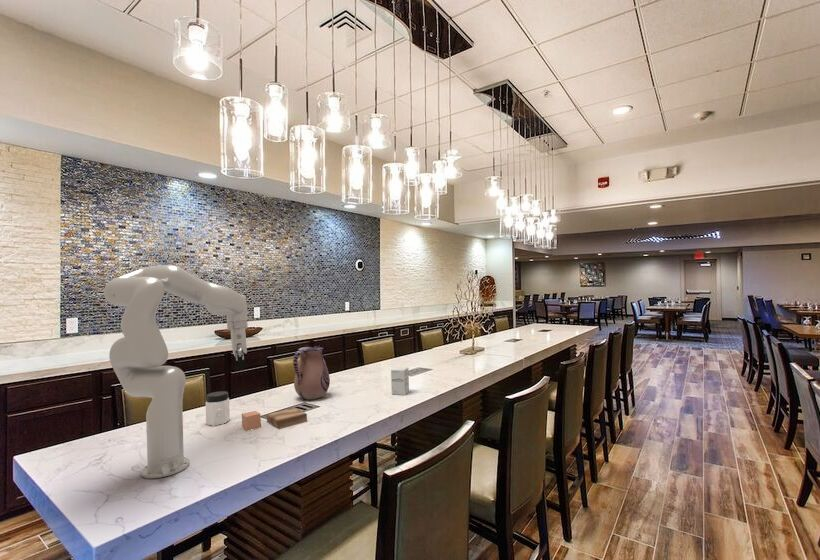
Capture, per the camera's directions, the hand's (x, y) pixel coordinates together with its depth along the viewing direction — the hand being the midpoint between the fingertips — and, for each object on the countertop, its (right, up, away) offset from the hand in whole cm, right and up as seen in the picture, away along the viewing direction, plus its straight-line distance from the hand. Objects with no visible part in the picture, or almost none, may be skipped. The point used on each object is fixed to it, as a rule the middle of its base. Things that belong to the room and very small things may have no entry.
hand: (239, 367), depth 155 cm
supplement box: (+64, -23, +42) cm, 79 cm away
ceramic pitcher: (+19, -24, +39) cm, 49 cm away
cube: (+5, -24, -1) cm, 24 cm away
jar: (-12, -25, +7) cm, 28 cm away
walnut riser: (+18, -23, +5) cm, 29 cm away
